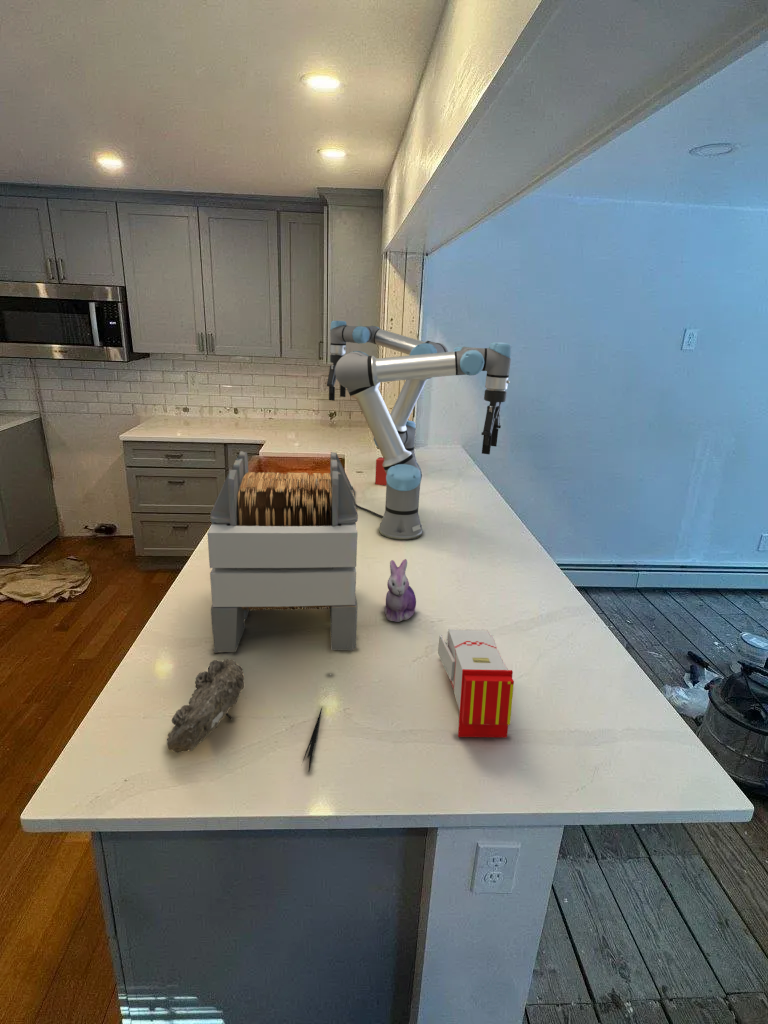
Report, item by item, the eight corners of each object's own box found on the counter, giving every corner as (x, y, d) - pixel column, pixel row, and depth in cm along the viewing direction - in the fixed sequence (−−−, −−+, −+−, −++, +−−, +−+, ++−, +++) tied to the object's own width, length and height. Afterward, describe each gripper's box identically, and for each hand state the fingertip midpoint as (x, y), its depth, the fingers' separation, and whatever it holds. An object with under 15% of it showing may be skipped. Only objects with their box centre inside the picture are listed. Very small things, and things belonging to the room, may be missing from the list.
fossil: (192, 660, 117) (244, 628, 112) (224, 691, 120) (276, 661, 115) (142, 746, 98) (202, 712, 93) (182, 779, 101) (242, 748, 96)
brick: (389, 486, 253) (390, 461, 249) (375, 484, 255) (376, 459, 251) (392, 483, 257) (393, 458, 253) (378, 481, 259) (379, 457, 255)
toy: (488, 613, 130) (523, 677, 101) (484, 667, 133) (517, 744, 104) (435, 612, 130) (455, 676, 101) (432, 666, 133) (451, 743, 103)
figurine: (392, 627, 141) (395, 572, 136) (374, 608, 149) (376, 556, 144) (425, 619, 145) (429, 566, 140) (405, 601, 154) (408, 550, 149)
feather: (331, 679, 122) (336, 673, 122) (307, 777, 96) (313, 769, 95) (324, 675, 122) (329, 669, 121) (298, 772, 95) (304, 764, 95)
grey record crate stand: (232, 584, 158) (225, 442, 144) (349, 583, 162) (353, 444, 148) (211, 655, 127) (198, 480, 113) (357, 651, 130) (362, 482, 117)
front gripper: (501, 394, 183) (493, 458, 190) (512, 386, 205) (505, 444, 212) (478, 392, 185) (471, 455, 192) (491, 384, 207) (485, 441, 214)
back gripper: (334, 356, 262) (334, 402, 269) (354, 353, 284) (353, 396, 291) (320, 355, 264) (319, 401, 271) (341, 352, 286) (340, 394, 293)
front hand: (489, 449), depth 202 cm, fingers open, 13 cm apart
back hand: (337, 398), depth 281 cm, fingers open, 13 cm apart
